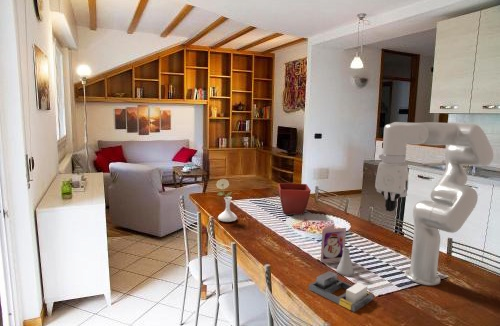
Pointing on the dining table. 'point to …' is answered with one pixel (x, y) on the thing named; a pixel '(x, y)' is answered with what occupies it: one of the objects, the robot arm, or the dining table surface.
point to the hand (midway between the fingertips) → (390, 210)
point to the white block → (356, 293)
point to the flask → (345, 264)
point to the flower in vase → (227, 214)
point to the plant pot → (294, 197)
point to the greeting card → (332, 243)
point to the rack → (330, 284)
